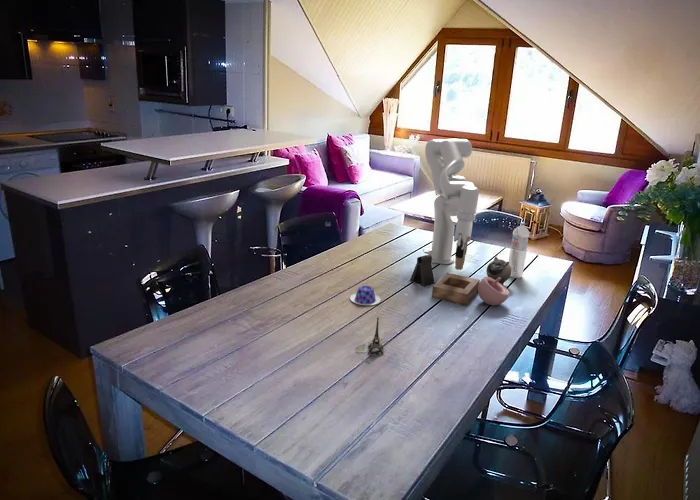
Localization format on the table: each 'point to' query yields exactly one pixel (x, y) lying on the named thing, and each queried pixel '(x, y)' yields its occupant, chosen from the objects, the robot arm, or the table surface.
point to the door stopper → (423, 271)
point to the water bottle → (518, 250)
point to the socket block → (455, 289)
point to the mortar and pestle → (492, 291)
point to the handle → (460, 261)
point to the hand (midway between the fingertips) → (460, 255)
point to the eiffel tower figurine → (371, 346)
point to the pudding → (365, 296)
